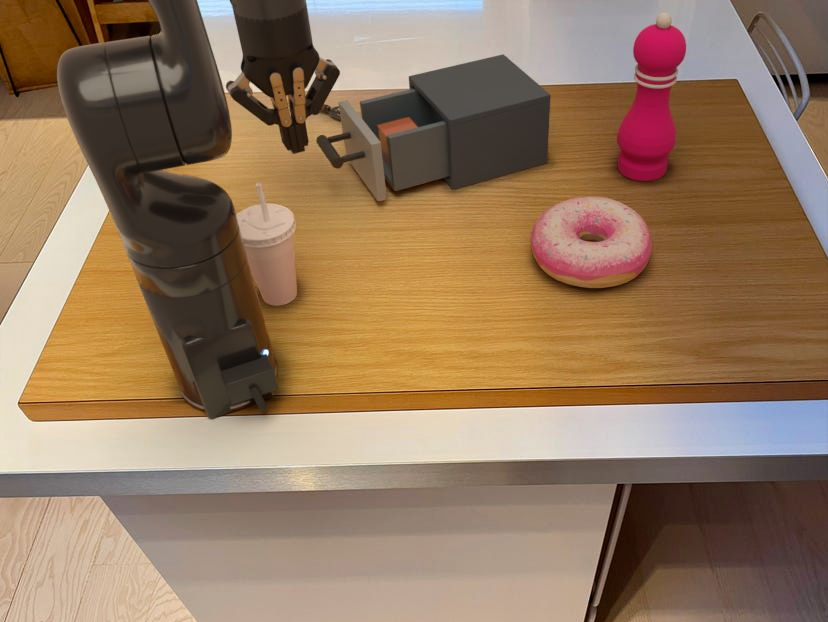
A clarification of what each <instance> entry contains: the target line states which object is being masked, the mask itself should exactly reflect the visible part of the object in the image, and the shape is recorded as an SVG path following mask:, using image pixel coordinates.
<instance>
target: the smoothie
mask: <svg viewBox="0 0 828 622" xmlns="http://www.w3.org/2000/svg"><path fill="white" fill-rule="evenodd" d="M255 187H256V192H257V196H258V200H259V203H257V204H254V205H251V206H248V207H246V208H244V209H241V210H240V211H239V212H238V213H236V216H237V219H238V224H239V228H240V232H241V236H242V239H243V243H244V247H245V251H246V255H247V259H248V262H249V266H250V270H251V274H252V277H253V280H254V281H255V283H256V286H257V288H258V290H259V293H260V296H261V297H262V300H263V301H264V303H266V304H267V305H271V306H275V307H276V306H277V307H279V306H284V305H288V304H289V303H291V302H293V301H294V300H296V297H297V295H298V285H297V283H298V282H297V268H296V251H295V234H294V233H295V231H296V229H297V221H296V220H295V215H294V213H293V212H292V210H291V209H290V208H288V207H286V206H284V205H281V204H277V203H269V202H268V203H267V201H266V196H265V192H264V188H263V183H262V182H256V183H255Z"/></svg>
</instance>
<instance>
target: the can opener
mask: <svg viewBox="0 0 828 622" xmlns="http://www.w3.org/2000/svg"><path fill="white" fill-rule="evenodd" d="M320 112H324V113H329V116H330V117H332V118H334V119H338V120H341V117H340V110H339V105H337V106H334V107H331V106H330V105H328V104H325V103H324V105H323V106H322V108H321V110H320Z"/></svg>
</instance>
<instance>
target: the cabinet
mask: <svg viewBox="0 0 828 622" xmlns="http://www.w3.org/2000/svg"><path fill="white" fill-rule="evenodd" d="M408 88H409V89H408V90H410V89H414V88H415V89H416V90H417V91H418V92H419V93H420V94H421V95H422V96H423V97H424V98H425V99H426V101H427V102H428V103H429V104H430V105H431V106H432V107H433V108H434V109H435V110H436V111H437V112H438V113H439V115H440V116H441V117H442V118H443V119H444V120H445V121H446V122H447V123H448V143H449V167H450V176H448V177H445V178H442V179H443V180H444V182H445V183H446V184H447V185H448V186H449V187H450V188H451V190H452V191H453V190H457V189H461V188H464V187H465V188H466V187H468V186H471V185H476V184H479V183H482V182H486V181H489V180H492V179H493V180H494V179H497V178H500V177H503V176H507V175H511V174H514V173H518V172H521V171H525V170H528V169H531V168H535V167H539V166H542V165H546V164H548V152H549V151H548V149H549V136H550V135H549V132H550V115H551V95H552V94H551V93H549V92H548V91H547V90H546V89H545V88H544V87H542V86H541V84H539V83H538V82H537V81H536V80H534V79H533V78H532V77H530V75H528V74H527V73H526V72H525V71H523V70H522V68H520V67H519V66H518V65H517V64H515V63H514V62H513V61H512V60H511V59H510V58H509V57H508V56H506V55H505V54H503V53H502V54H497V55H495V56H489V57H486V58H482V59H481V58H480V59H477V60H473V61H468V62H464V63H461V64H460V63H459V64H455V65H451V66H447V67H443V68H442V67H441V68H437V69H434V70H429V71H426V72H421V73H417V74H412V75H409V76H408Z"/></svg>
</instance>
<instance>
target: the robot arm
mask: <svg viewBox="0 0 828 622" xmlns="http://www.w3.org/2000/svg"><path fill="white" fill-rule="evenodd" d="M147 2H148V4H149V5H150V7H151V9H152V10H153V12H154V15H155V17H156V19H157V22H158V25H159V27H160V32H159V33H157V34H153V35H151V36H150V35H146V36H139V37H132V38H125V39H118V40H111V41H106V42H105V41H104V42H97V43H90V44H84V45H80V46H75V47H72V48H69V49H66V50H65V51H64V52H63V53H62V54H61V55H60V57H59V60H58V62H57V66H56V67H57V68H56V81H57V88H58V93H59V97H60V100H61V104H62V107H63V110H64V113H65V116H66V118H67V121H68V123H69V126H70V128H71V131H72V134H73V135H74V137H75V139H76V142H77V144H78V147H79V148H80V150H81V153H82V155H83V157H84V159H85V161H86V163H87V165H88V167H89V169H90V171H91V173H92V175H93V177H94V179H95V182H96V184H97V186H98V188H99V191H100V193H101V195H102V197H103V199H104V202H105V204H106V207H107V209H108V212H109V214H110V216H111V219H112V221H113V223H114V226H115V229H116V230H117V232H118V235H119V238H120V241H121V242H122V245H123V248H124V250H125V254H126V256H127V258H128V261H129V263H130V265H131V268H132V271H133V273H134V276H135V279H136V281H137V283H138V287H139V288H140V291H141V294H142V296H143V298H144V302H145V304H146V307H147V309H148V312H149V315H150V317H151V320H152V322H153V324H154V326H155V329H156V332H157V335H158V337H159V339H160V342H161V344H162V347H163V349H164V352H165V354H166V357H167V360H168V362H169V364H170V367H171V369H172V370H173V374H174V377H175V379H176V382H177V386H178V389H179V393H180V395H181V397H182V399H183V400H184V401H185V402H186V403H187V404H188V405H189V406H190V407H193V408H194V409H196V410H199V411H202V412H205V415H206V416H207V419H209V420H211V419H215V418H218V417H220V416H223V415H226V414H229V413H232V412H235V411H238V410H242V409H244V408H247V407H249V406H250V407H251V406H252V405H255V404H256V406H257V407H258V409H259V410H260V412H263V413H264V412H267V410H268V405H267V403H266V400H270V399H272V398H273V397H274V396H273V392H275V391H277V390H279V384H278V381H277V378H278V373H279V366H278V362H277V358H276V356H275V354H274V351H273V348H272V343H271V340H270V336H269V333H268V329H267V325H266V322H265V318H264V314H263V310H262V306H261V303H260V299H259V296H258V293H257V288H256V285H255V282H254V281H255V280H254V277H253V275H252V272H251V270H250V266H249V262H248V259H247V255H246V251H245V247H244V243H243V239H242V236H241V232H240V228H239V224H238V219H237V216H236V214H237V212H236V208H235V205H234V202H233V199H232V198H231V197H230V195H229V193H228V192H227V191H226V190H225V189H224V188H223V187H222V186H220V185H219V184H217V183H215V182H213V181H211V180H208V179H205V178H203V177H197V176H193V175H187V174H181V173H174V172H169V171H165V170H169V169H175V168H180V167H184V166H186V165H187V166H190V165H194V164H201V163H206V162H211V161H216V160H219V159H222V158H223V157H225V156H226V155H227V154H228V153H229V151H230V149H231V147H232V140H233V131H232V130H233V128H232V121H231V115H230V109H229V105H228V100H227V95H226V92H225V88H226V91H227V92H228V93H229V95H230V97H231V99H232V100H234V101H235V102H236V104H239V105H240V106H241V107H242V108H244V109H245V110H247V111H248V112H249V113H250V114H252V115H253V116H254V117H256V118H257V119H259V120H260V121H261V122H262V123H264V124H265V125H267V126H269V127H271V126H274V125H277V126H278V129H279V130H278V131H279V135H280V139H281V143H282V144H283V146H284V147H285V149H286V150H287V151H290V152H291V153H292V155H295V154H299V153H303V152H305V151H306V147H307V146H309V143H310V141H309V135H308V129H307V125H306V124H307V123H306V121H307V119H308V118H309V117H310V116H317V115H318V114H319V113H320V112H321V111H320V110H321V108H322V106H323V105H324V104H325V103H326V101H327V99H328V98H329V96H330V94H331V92H332V90H333V88H334V87H335V85H336V82H337V81H338V79H339V77H340V75H341V70H340V69H339V68H338V66H337V65H336V64H335V63H334V62H333V60H331V59H324V58H322V57H321V56H320V53H319V51H318V50H317V49H316V48H315V46H314V44H313V36H312V30H311V29H312V28H311V24H310V23H311V22H310V17H309V11H308V5H307V0H229V3H230V5H231V7H232V12H233V15H234V20H235V21H234V22H235V25H236V29H237V35H238V38H239V43H240V48H241V53H242V60H241V63H240V70H241V73H240V74H239V75H238V76H237V77H236V79H235V80H229V81H227V82H226V83H225V88H224V85H223V82H222V78H221V75H220V72H219V68H218V65H217V61H216V58H215V54H214V52H213V48H212V45H211V41H210V39H209V35H208V32H207V29H206V26H205V22H204V18H203V15H202V12H201V8H200V5H199V2H198V0H147ZM314 74H315V77H314V79H313V81H312V82H311V85H310V86H309V84H310V81H311V80H312V78H313V75H314ZM250 83H251V84H253V86H255V87H256V88H257V89H259V91H260V92H262V93H263V94H264V95H265V96H267V97H269V98H270V101H271V104H272V107H273V108H269V107H268V106H266V105H265V104H264V103H263V102H261V101H260V100H259V99H257V97H256V96H254V95H253V93H254V91H253V88H252V87H251V86H250ZM308 86H309V88H308V90H307V92H306V89H307V87H308Z"/></svg>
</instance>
